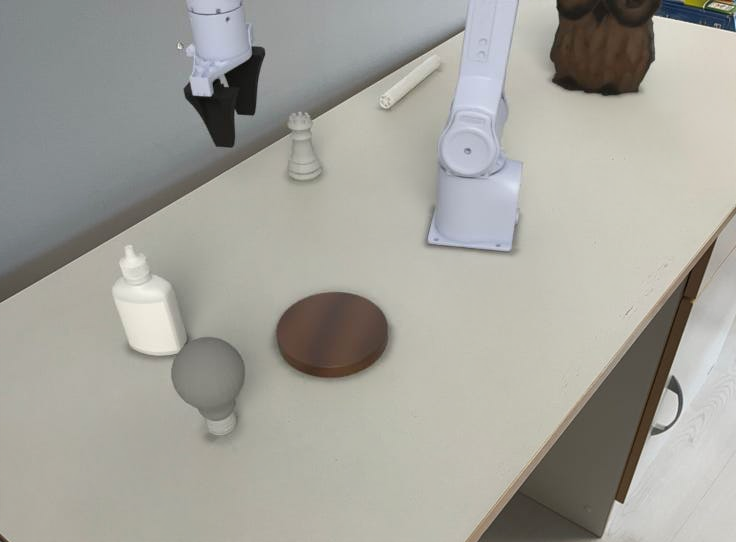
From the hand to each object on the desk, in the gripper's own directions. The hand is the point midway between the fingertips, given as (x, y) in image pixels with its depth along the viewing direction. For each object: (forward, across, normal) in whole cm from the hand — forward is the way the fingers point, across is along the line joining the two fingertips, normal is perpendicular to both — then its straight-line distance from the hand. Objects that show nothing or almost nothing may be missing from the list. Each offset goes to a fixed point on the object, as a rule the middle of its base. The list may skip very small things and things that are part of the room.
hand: (236, 129), depth 83 cm
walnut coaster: (+10, +22, +16) cm, 29 cm away
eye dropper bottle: (+10, +26, -1) cm, 28 cm away
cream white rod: (+10, -36, +15) cm, 40 cm away
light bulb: (+10, +35, +9) cm, 38 cm away
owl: (+10, -42, +43) cm, 61 cm away
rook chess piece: (+10, -8, +5) cm, 14 cm away
